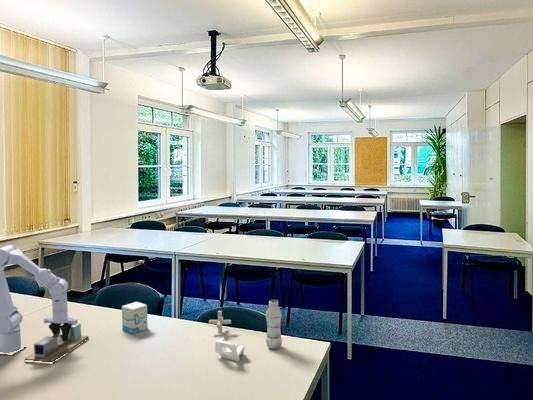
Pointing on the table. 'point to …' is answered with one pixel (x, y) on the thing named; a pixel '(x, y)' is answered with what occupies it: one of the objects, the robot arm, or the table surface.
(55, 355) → the walnut board
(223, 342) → the mounting bracket
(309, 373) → the table surface
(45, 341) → the grey sleeve
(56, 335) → the grey rectangular bar
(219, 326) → the pipe connector
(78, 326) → the teal socket block
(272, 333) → the plastic bottle
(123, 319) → the ink box
